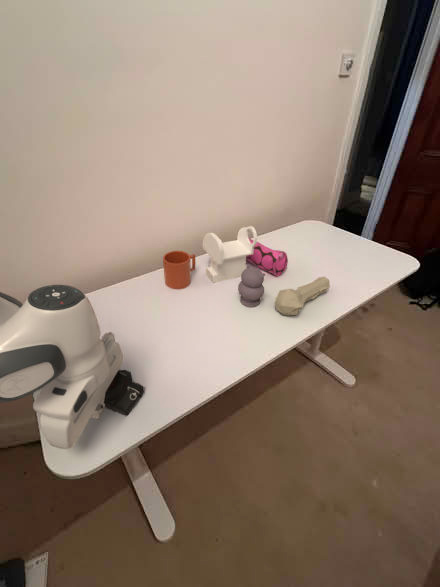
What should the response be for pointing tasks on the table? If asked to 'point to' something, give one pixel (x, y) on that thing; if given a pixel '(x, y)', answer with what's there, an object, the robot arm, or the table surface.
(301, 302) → the faceted club
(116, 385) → the film camera
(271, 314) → the table surface
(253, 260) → the pencil case
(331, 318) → the table surface
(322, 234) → the table surface
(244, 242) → the tape dispenser
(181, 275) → the mug
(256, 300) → the cat figurine
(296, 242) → the table surface
